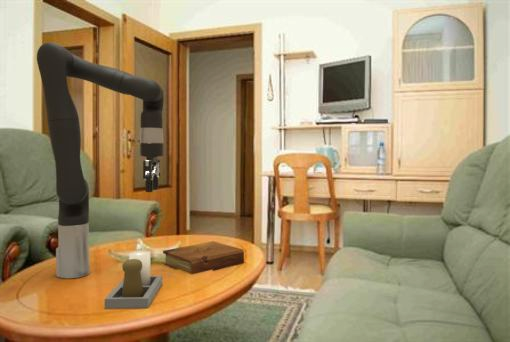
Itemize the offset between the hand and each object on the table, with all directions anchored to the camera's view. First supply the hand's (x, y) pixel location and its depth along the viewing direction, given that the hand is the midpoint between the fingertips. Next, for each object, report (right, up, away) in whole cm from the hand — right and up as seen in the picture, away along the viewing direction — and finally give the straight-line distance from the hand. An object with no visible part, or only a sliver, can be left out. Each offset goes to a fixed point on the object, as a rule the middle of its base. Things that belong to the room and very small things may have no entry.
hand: (152, 190), depth 131 cm
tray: (+1, -29, -20) cm, 35 cm away
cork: (+1, -29, -24) cm, 37 cm away
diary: (+15, -28, +14) cm, 35 cm away
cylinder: (+1, -28, -16) cm, 32 cm away
